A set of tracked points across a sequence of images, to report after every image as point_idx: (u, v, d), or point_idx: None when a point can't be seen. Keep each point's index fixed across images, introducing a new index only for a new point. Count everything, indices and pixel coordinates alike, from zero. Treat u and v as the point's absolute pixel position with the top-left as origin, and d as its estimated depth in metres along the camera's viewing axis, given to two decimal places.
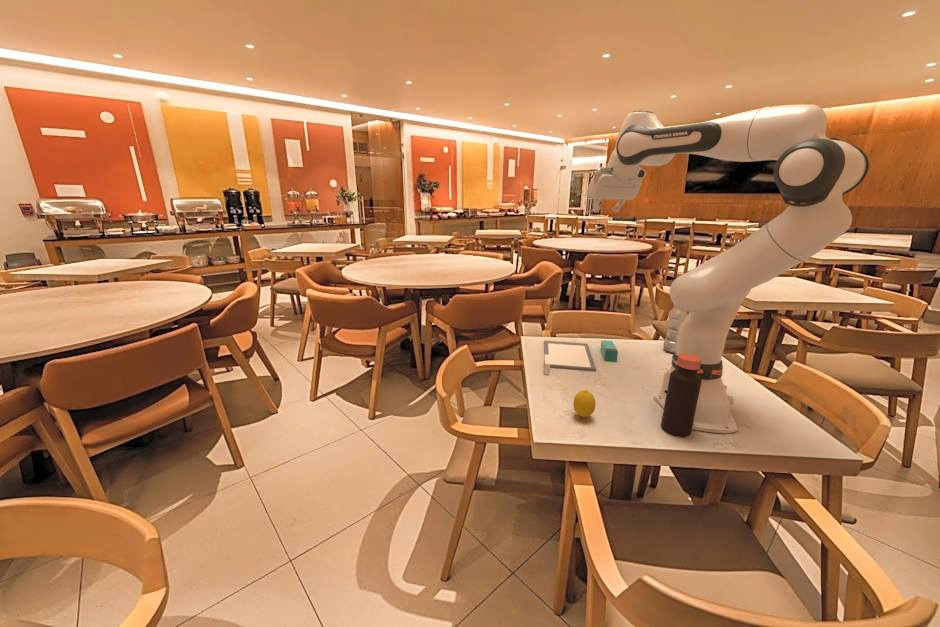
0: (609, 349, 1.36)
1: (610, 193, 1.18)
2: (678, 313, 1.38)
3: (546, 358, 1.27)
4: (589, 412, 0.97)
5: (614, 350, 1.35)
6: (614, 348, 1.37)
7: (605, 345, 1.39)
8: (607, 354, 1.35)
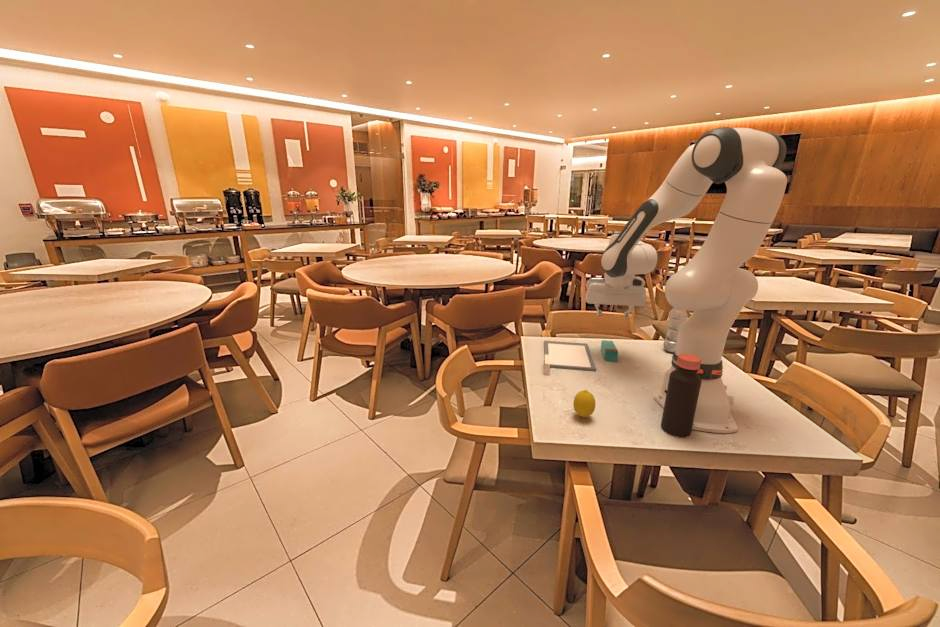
0: (609, 349, 1.36)
1: (606, 299, 1.33)
2: (678, 313, 1.38)
3: (546, 358, 1.27)
4: (589, 412, 0.97)
5: (614, 350, 1.35)
6: (614, 348, 1.37)
7: (605, 345, 1.39)
8: (607, 354, 1.35)
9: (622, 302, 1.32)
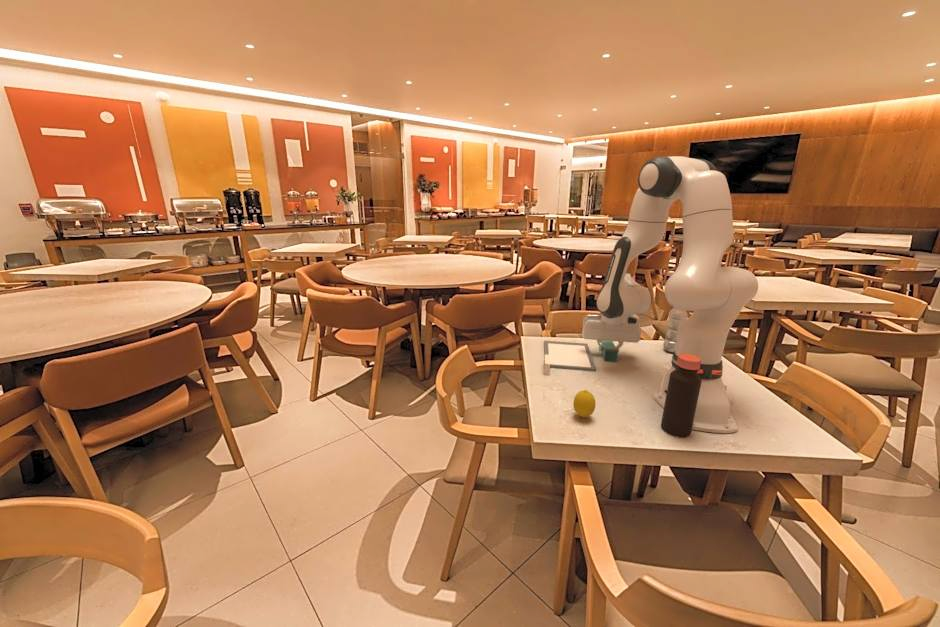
0: (609, 349, 1.36)
1: (602, 335, 1.37)
2: (679, 313, 1.38)
3: (546, 358, 1.27)
4: (589, 412, 0.97)
5: (614, 350, 1.35)
6: (614, 348, 1.37)
7: (605, 345, 1.39)
8: (607, 354, 1.35)
9: (618, 338, 1.36)
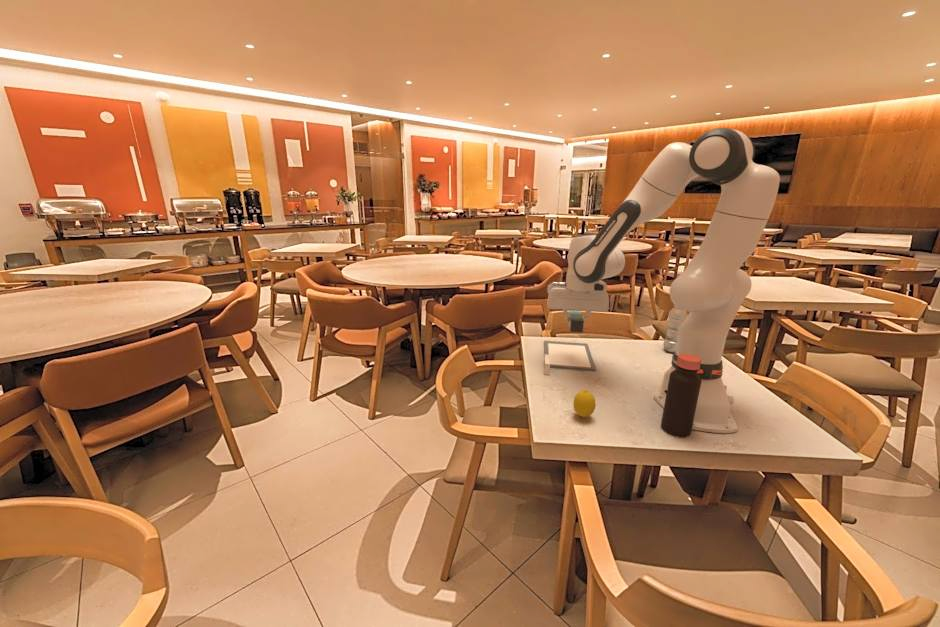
0: (575, 318, 1.26)
1: (568, 304, 1.27)
2: (679, 313, 1.38)
3: (546, 358, 1.27)
4: (589, 412, 0.97)
5: (580, 319, 1.25)
6: (580, 318, 1.27)
7: (572, 315, 1.30)
8: (572, 324, 1.25)
9: (584, 307, 1.26)
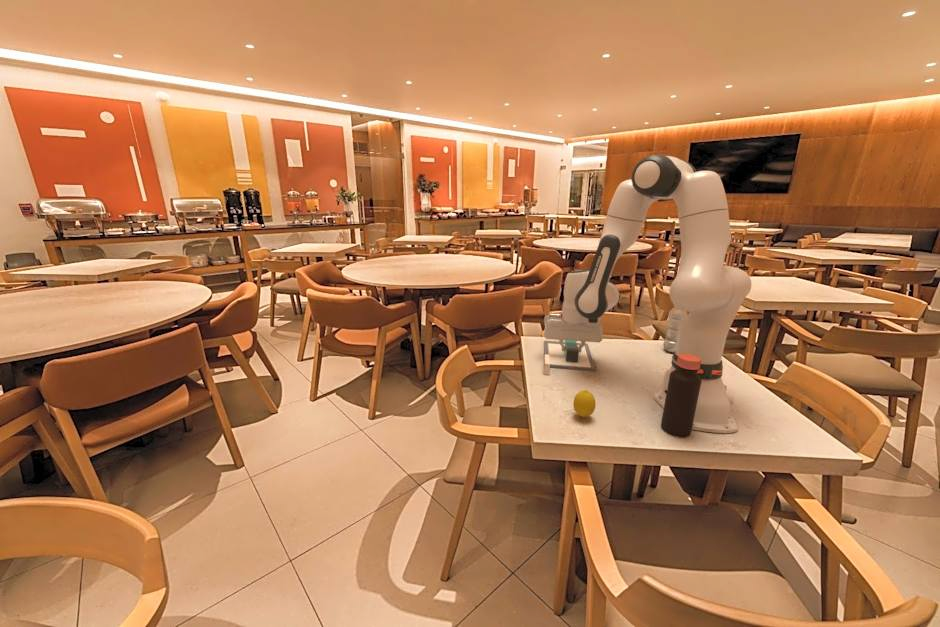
0: (571, 349, 1.32)
1: (564, 335, 1.33)
2: (679, 313, 1.38)
3: (546, 358, 1.27)
4: (589, 412, 0.97)
5: (575, 350, 1.31)
6: (576, 348, 1.33)
7: (567, 345, 1.36)
8: (568, 354, 1.31)
9: (579, 338, 1.32)
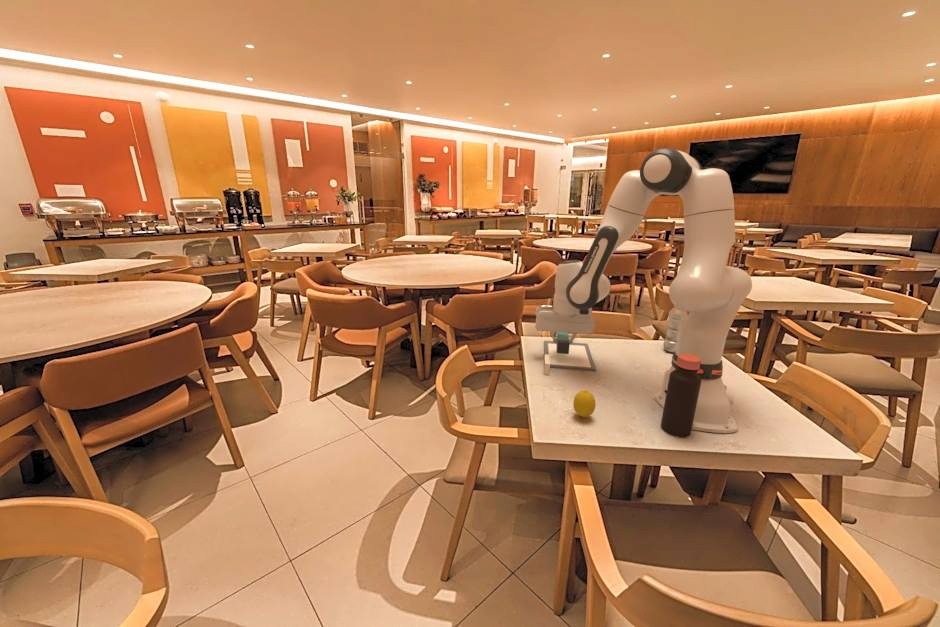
0: (562, 340, 1.31)
1: (555, 327, 1.32)
2: (679, 313, 1.38)
3: (546, 358, 1.27)
4: (589, 412, 0.97)
5: (566, 342, 1.30)
6: (567, 340, 1.32)
7: (559, 337, 1.35)
8: (559, 346, 1.30)
9: (571, 330, 1.31)
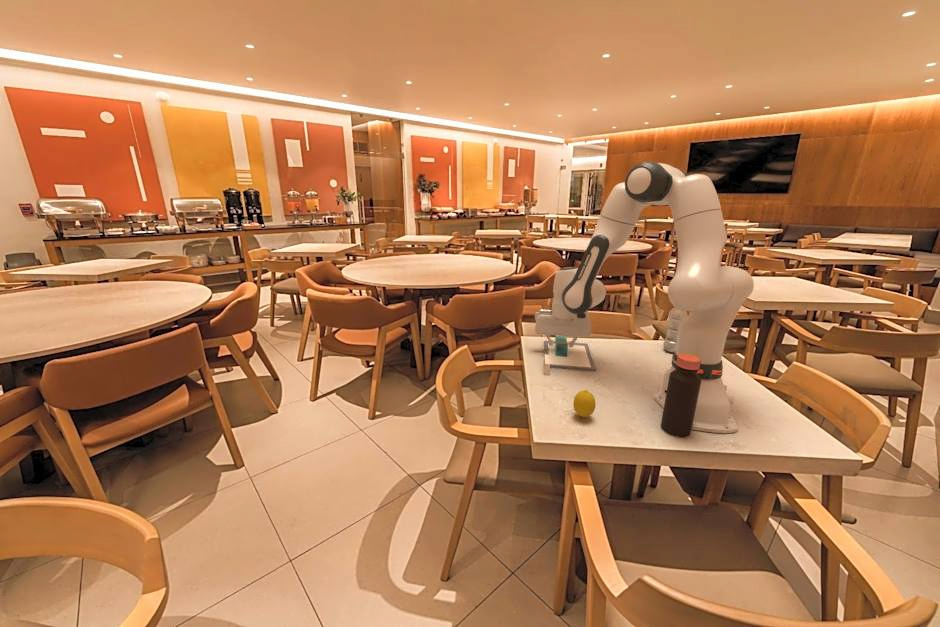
0: (560, 344, 1.37)
1: (554, 330, 1.38)
2: (678, 313, 1.38)
3: (546, 358, 1.27)
4: (589, 412, 0.97)
5: (564, 345, 1.37)
6: (565, 343, 1.38)
7: (557, 340, 1.41)
8: (557, 349, 1.36)
9: (569, 333, 1.38)
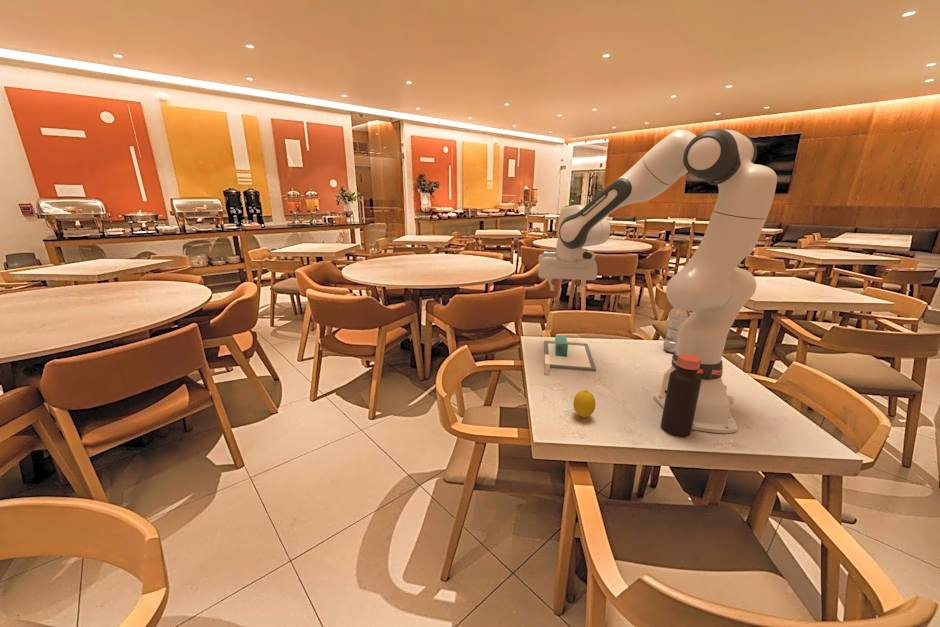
0: (560, 344, 1.37)
1: (558, 273, 1.32)
2: (678, 313, 1.38)
3: (546, 358, 1.27)
4: (589, 412, 0.97)
5: (564, 345, 1.37)
6: (565, 343, 1.38)
7: (557, 340, 1.41)
8: (557, 349, 1.36)
9: (574, 276, 1.32)
